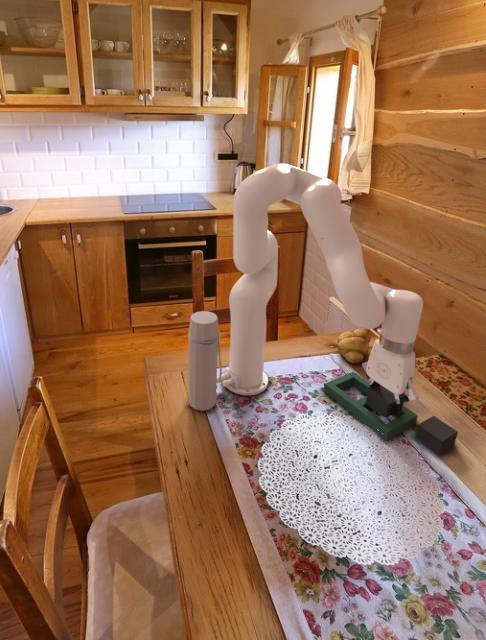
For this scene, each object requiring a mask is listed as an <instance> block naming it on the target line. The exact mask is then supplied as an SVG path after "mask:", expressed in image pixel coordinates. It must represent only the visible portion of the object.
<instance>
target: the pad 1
mask: <svg viewBox="0 0 486 640" xmlns="http://www.w3.org/2000/svg"><path fill="white" fill-rule="evenodd" d="M366 396H367V399H366V404H367V405H369V406H370V407H371V409H373V410H374V411H375V412H376V413H378V414H379V415H381V416H382V417H383V418H384V419H387V418H389V417H392V416H391V415H390V412H391V408H392V402H393V401H395V396H394V393H392V392H391V391H389V390H388V389H386V388H385V387H383V386H382V385H379V386H377V387H375V388H373V389H370V390H368V393H367V395H366ZM400 396H401V394H400Z"/></svg>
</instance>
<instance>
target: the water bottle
mask: <svg viewBox="0 0 486 640" xmlns="http://www.w3.org/2000/svg"><path fill="white" fill-rule="evenodd" d="M187 335H188V403H189V406H190V407H191V408H192V409H194V410H196V411H200V412H203V411H210V410H211V409H212V408H213V407H215V405H216V402H217V385H218V384H219V383H218V382H220V381H221V376H222V374H223V371H222V370H223V369H222V358H221V348H220V347H221V346H220V339H221V336H222V334H221V331H220V329H219V317H218V316H217V314H216V313H214V312H211V311H207V310H201V311H196V312H193V313H192V314H191V316H190V319H189V328H188V333H187ZM218 366H219V374H218ZM218 375H219V380H218V381H217V376H218ZM220 383H221V382H220Z"/></svg>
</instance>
